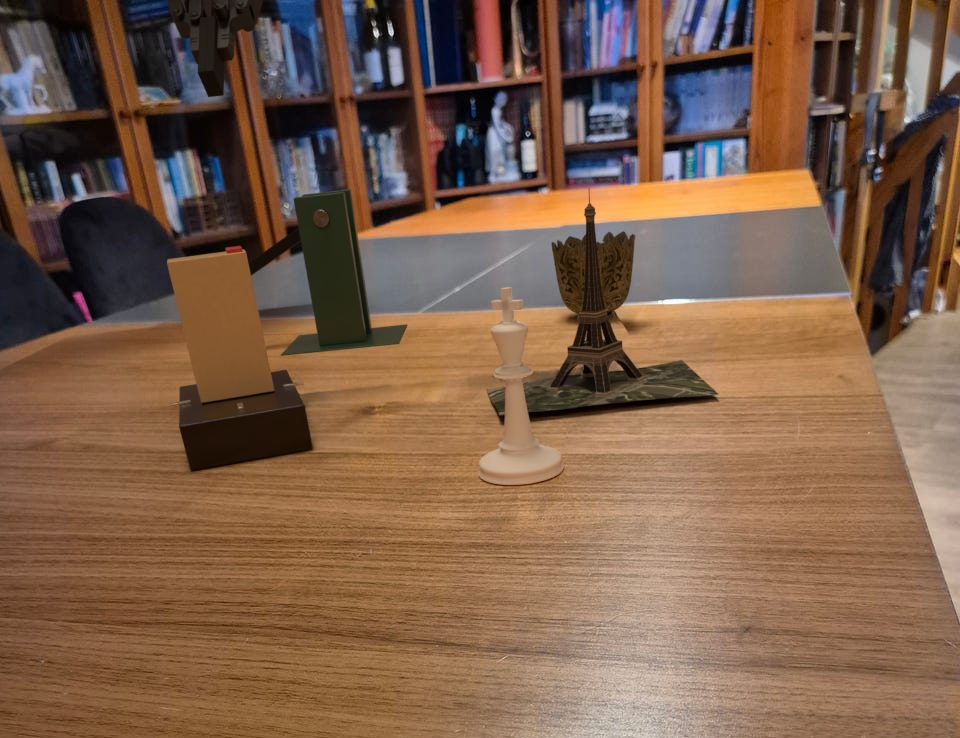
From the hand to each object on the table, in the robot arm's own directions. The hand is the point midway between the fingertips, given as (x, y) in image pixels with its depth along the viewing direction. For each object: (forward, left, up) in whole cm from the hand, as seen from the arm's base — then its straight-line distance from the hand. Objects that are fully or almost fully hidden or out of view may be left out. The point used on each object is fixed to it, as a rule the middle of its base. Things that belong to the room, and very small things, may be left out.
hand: (210, 83), depth 86 cm
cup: (+34, +9, -24) cm, 43 cm away
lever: (+10, -4, -15) cm, 18 cm away
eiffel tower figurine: (+44, -12, -24) cm, 52 cm away
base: (+24, -27, -24) cm, 43 cm away
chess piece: (+47, -28, -24) cm, 60 cm away
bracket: (+13, -2, -24) cm, 27 cm away
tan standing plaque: (+24, -27, -21) cm, 42 cm away
